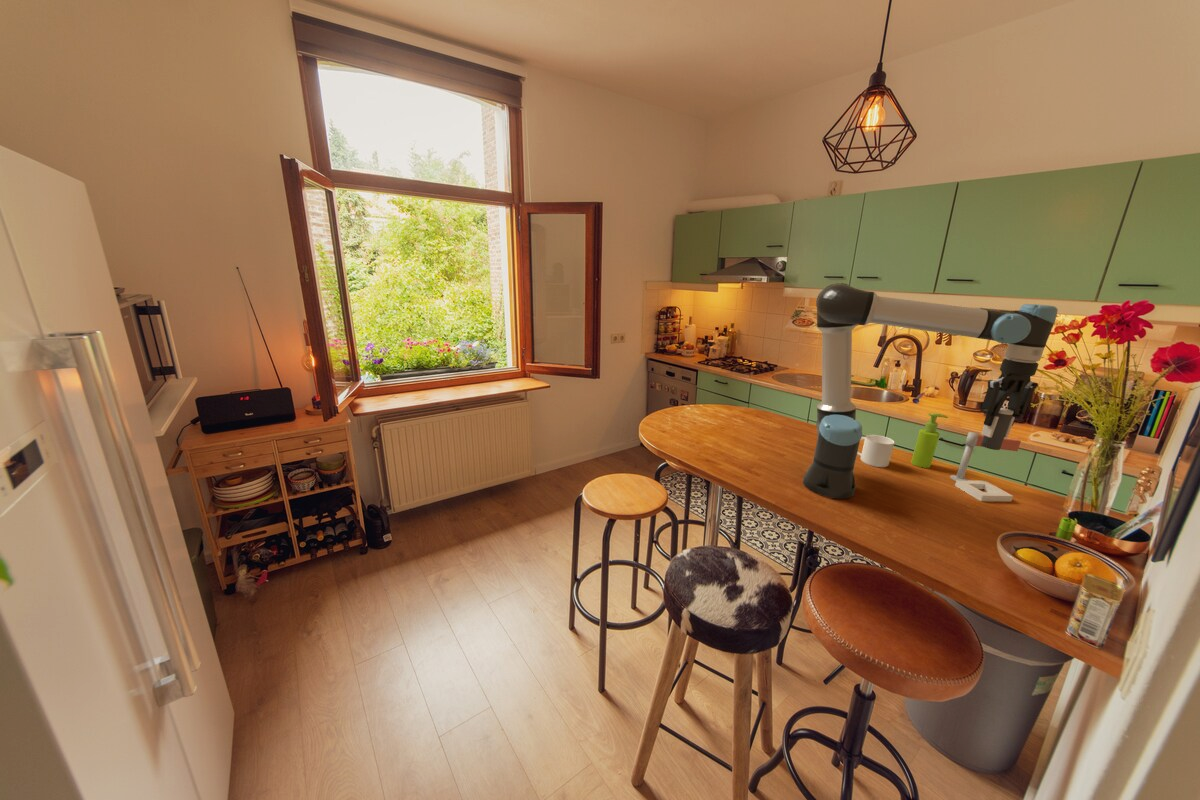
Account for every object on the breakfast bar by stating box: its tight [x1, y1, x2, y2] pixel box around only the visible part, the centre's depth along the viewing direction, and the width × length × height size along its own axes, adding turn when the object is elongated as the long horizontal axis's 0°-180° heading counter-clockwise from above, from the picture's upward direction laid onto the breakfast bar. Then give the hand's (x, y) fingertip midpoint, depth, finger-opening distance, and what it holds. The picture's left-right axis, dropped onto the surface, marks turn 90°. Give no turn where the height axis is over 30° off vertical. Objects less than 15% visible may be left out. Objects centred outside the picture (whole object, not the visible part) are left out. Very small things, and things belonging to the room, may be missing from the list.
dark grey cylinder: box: [981, 407, 1014, 451], centre depth 128 cm, size 4×4×12 cm
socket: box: [950, 444, 1014, 503], centre depth 141 cm, size 10×16×13 cm, turn 2°
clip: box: [964, 431, 1022, 452], centre depth 142 cm, size 3×14×4 cm, turn 70°
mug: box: [857, 434, 895, 468], centre depth 161 cm, size 12×9×9 cm
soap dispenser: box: [910, 412, 949, 469], centre depth 157 cm, size 6×7×20 cm
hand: (994, 435), depth 129 cm, fingers closed on dark grey cylinder, 4 cm apart
